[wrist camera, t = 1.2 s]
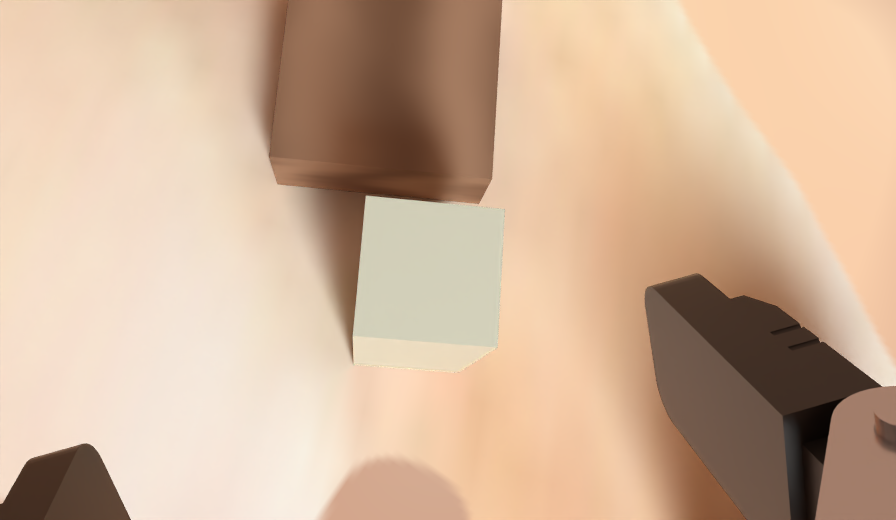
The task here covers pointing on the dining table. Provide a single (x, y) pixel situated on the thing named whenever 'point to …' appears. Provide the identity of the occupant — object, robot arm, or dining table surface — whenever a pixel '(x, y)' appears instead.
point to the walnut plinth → (388, 97)
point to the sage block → (427, 284)
